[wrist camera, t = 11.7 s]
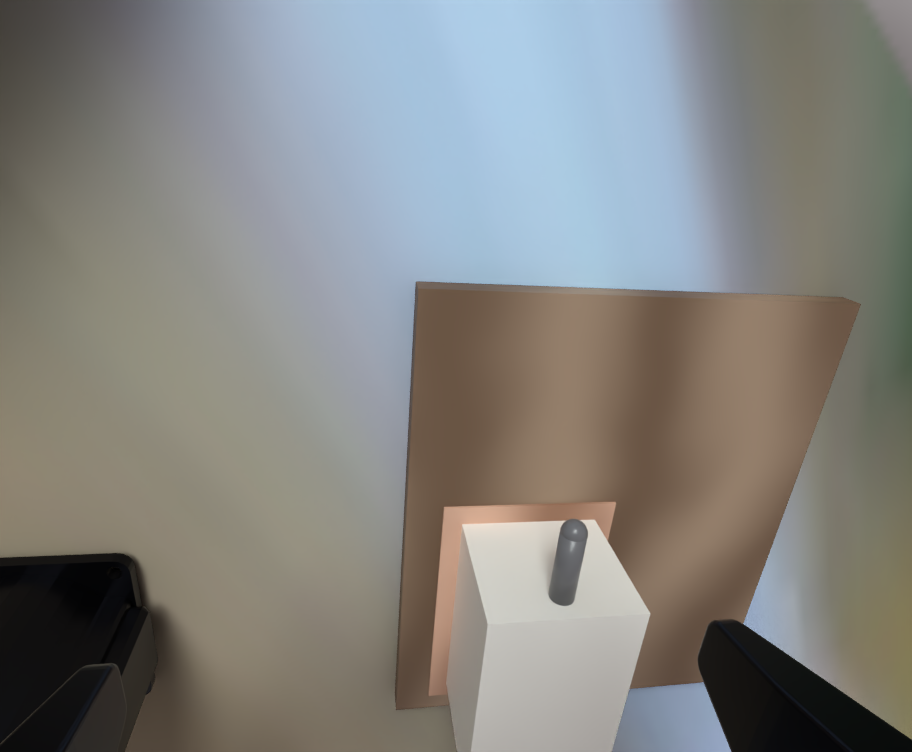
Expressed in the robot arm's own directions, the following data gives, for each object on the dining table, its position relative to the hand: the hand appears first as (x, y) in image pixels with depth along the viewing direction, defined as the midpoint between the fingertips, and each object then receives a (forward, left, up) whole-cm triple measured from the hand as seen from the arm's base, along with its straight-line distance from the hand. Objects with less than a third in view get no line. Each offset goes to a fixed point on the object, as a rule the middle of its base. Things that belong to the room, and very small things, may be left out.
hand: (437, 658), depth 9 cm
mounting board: (+8, -6, -11) cm, 15 cm away
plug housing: (+5, -8, -10) cm, 14 cm away
